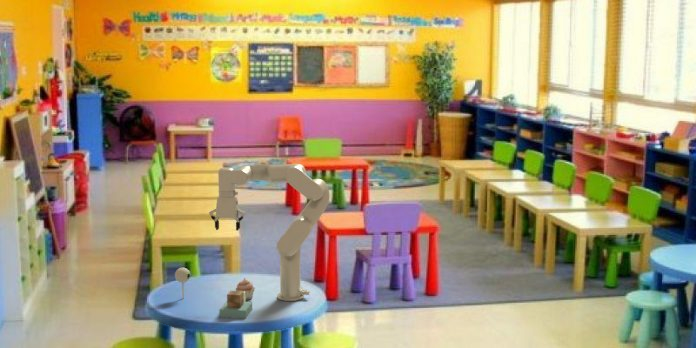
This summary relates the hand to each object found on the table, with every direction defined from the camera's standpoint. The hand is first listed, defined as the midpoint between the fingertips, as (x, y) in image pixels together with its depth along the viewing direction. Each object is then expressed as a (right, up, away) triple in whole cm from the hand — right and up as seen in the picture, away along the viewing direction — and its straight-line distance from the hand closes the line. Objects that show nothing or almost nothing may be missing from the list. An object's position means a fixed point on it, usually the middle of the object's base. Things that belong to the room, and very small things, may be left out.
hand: (227, 229), depth 418 cm
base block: (+7, -37, -21) cm, 43 cm away
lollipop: (-21, -33, 0) cm, 39 cm away
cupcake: (+8, -33, +1) cm, 34 cm away
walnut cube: (+7, -33, -21) cm, 40 cm away
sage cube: (+6, -35, -10) cm, 36 cm away
